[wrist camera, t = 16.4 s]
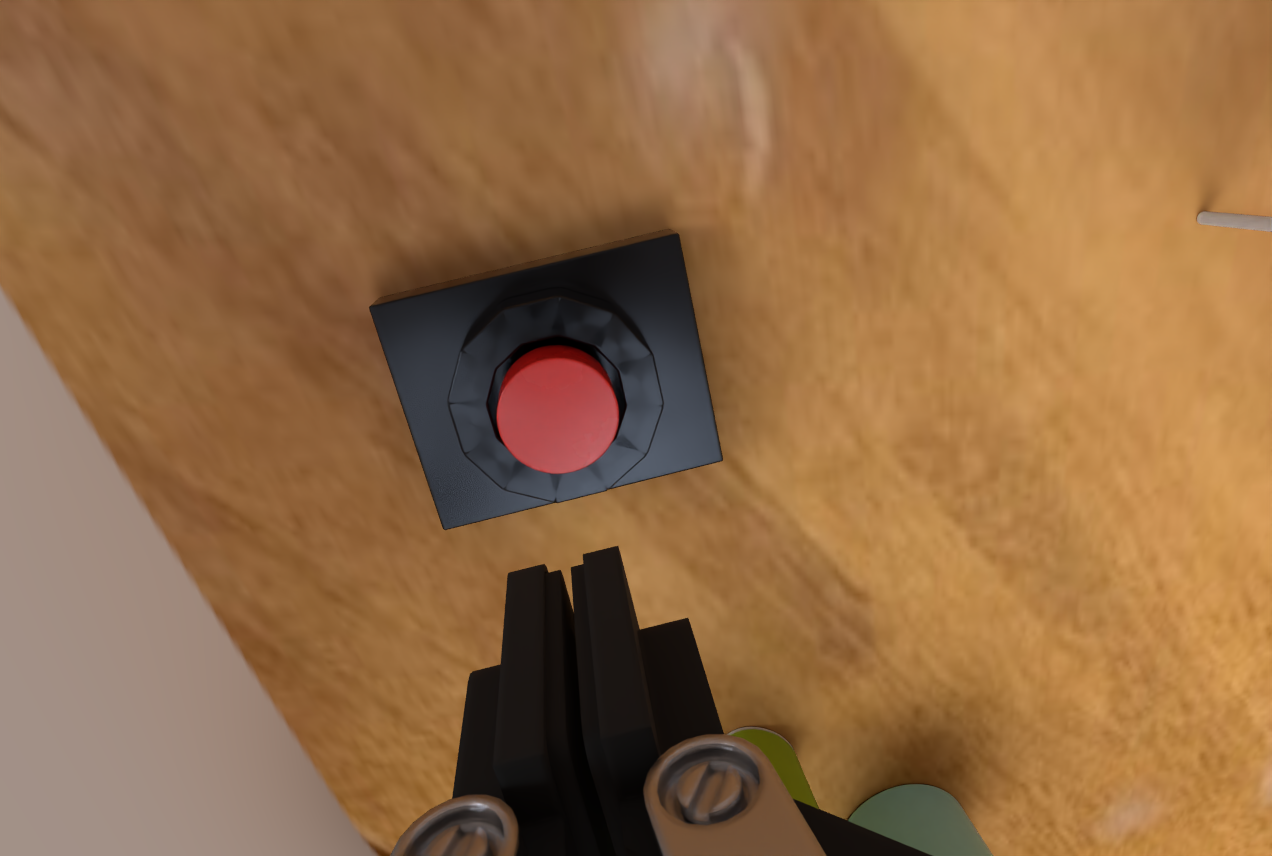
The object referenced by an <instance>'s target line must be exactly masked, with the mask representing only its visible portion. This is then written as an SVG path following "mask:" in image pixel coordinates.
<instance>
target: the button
mask: <svg viewBox="0 0 1272 856" xmlns="http://www.w3.org/2000/svg"><path fill="white" fill-rule="evenodd" d="M496 417H497V426H498V431H499V434H500V436H501V439H502V441H503V443H504V445H505V446H506V448H507V449H508V450H509V452H510V453H511V454H512V455H513V456H514V457H515V458H516V459H517V460H519V461H520V462H521V463H523V464H525V465H526V466H528V467H530V468H532V469H534V470H538V471H541V472H545V473H553V474H562V473H570V472H574V471H577V470H581V469H583V468H585V467H587V466H589V465H590V464H592V463H594V462H595V461H596V460H598V459H599V458H600V457H601V456H602V455H603V454H604V453H605V452H606V451H607V449H608V448H609V447H610V445H611V443H612V441H613V440H614V437H615V435H616V432H617V428H618V424H619V407H618V402H617V398H616V395H615V392H614V389H613V386H612V383H611V380H610V378H609V376H608V374H607V372H606V371H605V369H604V368H603V366H602V365H601V364H600V363H599V362H598V361H597V360H596V359H595V358H594V357H592V356H591V355H589V354H588V353H586V352H584V351H582V350H580V349H577V348H574V347H570V346H566V345H548V346H543V347H539V348H536V349H534V350H532V351H529V352H527V353H526V354H524V355H523V356H521V357H520V358H519V359H518V360H516V361H515V363H514V364H513V365H512V366H511V367H510V368H509V370H508V371H507V373H506V375H505V377H504V379H503V381H502V384H501V387H500V392H499V399H498V405H497V415H496Z"/></svg>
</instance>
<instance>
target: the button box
mask: <svg viewBox="0 0 1272 856" xmlns="http://www.w3.org/2000/svg"><path fill="white" fill-rule="evenodd" d="M369 309H370V312H371V315H372V318H373V321H374V324H375V327H376V330H377V333H378V336H379V339H380V342H381V345H382V348H383V351H384V354H385V357H386V360H387V363H388V366H389V369H390V372H391V375H392V378H393V381H394V384H395V387H396V390H397V393H398V396H399V399H400V402H401V405H402V408H403V411H404V414H405V417H406V420H407V423H408V426H409V429H410V432H411V435H412V438H413V441H414V444H415V447H416V450H417V453H418V456H419V459H420V462H421V465H422V468H423V471H424V474H425V477H426V480H427V483H428V486H429V488H430V491H431V494H432V497H433V500H434V503H435V506H436V509H437V512H438V515H439V518H440V521H441V524H442V527H443V529H444V530H447V529H451V528H455V527H460V526H464V525H468V524H472V523H476V522H480V521H484V520H488V519H492V518H496V517H500V516H504V515H508V514H512V513H516V512H520V511H524V510H528V509H532V508H536V507H540V506H544V505H548V504H552V503H560V502H564V501H568V500H572V499H576V498H580V497H584V496H588V495H592V494H596V493H600V492H604V491H607V490H608V489H612V488H616V487H620V486H624V485H628V484H632V483H636V482H640V481H644V480H648V479H652V478H656V477H660V476H664V475H668V474H672V473H676V472H680V471H684V470H688V469H692V468H696V467H700V466H704V465H708V464H712V463H716V462H720V461H723V456H722V451H721V446H720V441H719V436H718V431H717V426H716V421H715V415H714V410H713V405H712V400H711V395H710V390H709V385H708V380H707V375H706V369H705V364H704V359H703V354H702V349H701V344H700V339H699V334H698V329H697V323H696V318H695V313H694V308H693V303H692V298H691V293H690V288H689V283H688V278H687V272H686V267H685V262H684V257H683V252H682V247H681V242H680V237H679V234H678V233H677V232H675V231H673V230H671V229H666V230H662V231H658V232H653V233H649V234H645V235H641V236H636V237H632V238H628V239H624V240H620V241H615V242H611V243H607V244H603V245H599V246H594V247H590V248H586V249H582V250H577V251H573V252H569V253H565V254H561V255H556V256H552V257H548V258H544V259H540V260H535V261H531V262H527V263H523V264H519V265H514V266H510V267H506V268H502V269H497V270H493V271H489V272H485V273H481V274H476V275H472V276H468V277H464V278H460V279H455V280H451V281H447V282H443V283H438V284H434V285H430V286H426V287H422V288H417V289H413V290H409V291H405V292H401V293H396V294H392V295H388V296H384V297H380V298H378V299H377V300H376V301H375V302H374V303H373V304H372V305H371V306H370V307H369ZM548 345H566V346H570V347H574V348H577V349H580V350H582V351H584V352H586V353H588V354H589V355H591V356H592V357H594V358H595V359H596V360H597V361H598V362H599V363H600V364H601V365H602V366H603V368H604V369H605V371H606V372H607V374H608V376H609V378H610V380H611V383H612V386H613V389H614V392H615V395H616V398H617V402H618V407H619V424H618V428H617V432H616V435H615V437H614V440H613V441H612V443H611V445H610V447H609V448H608V449H607V451H606V452H605V453H604V454H603V455H602V456H601V457H600V458H599V459H598V460H596V461H595V462H594V463H592V464H590V465H589V466H587V467H585V468H583V469H581V470H577V471H574V472H570V473H562V474H553V473H545V472H541V471H538V470H534V469H532V468H530V467H528V466H526V465H525V464H523V463H521V462H520V461H519V460H517V459H516V458H515V457H514V456H513V455H512V454H511V453H510V452H509V450H508V449H507V448H506V446H505V445H504V443H503V441H502V439H501V436H500V434H499V431H498V426H497V417H496V415H497V405H498V399H499V392H500V387H501V384H502V381H503V379H504V377H505V375H506V373H507V371H508V370H509V368H510V367H511V366H512V365H513V364H514V363H515V361H516V360H518V359H519V358H520V357H521V356H523V355H524V354H526V353H527V352H529V351H532V350H534V349H536V348H539V347H543V346H548Z"/></svg>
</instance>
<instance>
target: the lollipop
mask: <svg viewBox="0 0 1272 856" xmlns="http://www.w3.org/2000/svg"><path fill="white" fill-rule="evenodd" d="M1197 222H1198V223H1199V224H1202V225H1212V226H1222V227H1231V228H1241V229H1250V230H1260V231H1270V232H1272V217H1266V216H1254V215H1243V214H1231V213H1219V212H1207V211H1203V212H1201V213H1200V214H1199V215H1198V217H1197Z"/></svg>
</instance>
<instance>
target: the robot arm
mask: <svg viewBox="0 0 1272 856" xmlns="http://www.w3.org/2000/svg"><path fill="white" fill-rule="evenodd" d="M583 563H584V564H582V565H578V566H574V567H571V576H572V591H573V606H574V612H573V609H572V605H571V602H570V598H569V595H568V591H567V588H566V585H565V581H564V578H563V575H562V572H561V570H558V571H554V572H550V573H548V570H547V567H546V565H545V564H542V565H538V566H534V567H530V568H526V569H522V570H518V571H514V572H510V573H508V578H507V591H506V604H505V616H504V629H503V642H502V655H501V665H497V666H493V667H489V668H485V669H481V670H477V671H473V672H472V673H471V674H470V676H469V680H468V686H467V694H466V701H465V708H464V716H463V723H462V731H461V738H460V745H459V753H458V760H457V767H456V775H455V782H454V789H453V797H452V799H450V800H448V801H446V802H444V803H442V804H440V805H438V806H436V807H434V808H432V809H430V810H429V811H427V812H426V813H425V814H423V815H422V816H421V817H419V818H418V819H417V820H416V821H414V822H413V823H412V824H411V825H410V827H409V828H408V829H407V830H406V831H405V832H404V833H403V835H402V836H401V837H400V838H399V840H398V842H397V844H396V846H395V847H394V849H393V851H392V853H391V855H390V856H932V855H930V854H927V853H925V852H922V851H920V850H918V849H915V848H913V847H910V846H908V845H905V844H903V843H900V842H898V841H896V840H893V839H891V838H888V837H886V836H883V835H881V834H878V833H876V832H874V831H871V830H869V829H866V828H864V827H861V826H859V825H856V824H854V823H852V822H849V821H847V820H844V819H842V818H839V817H837V816H834V815H832V814H830V813H827V812H825V811H822V810H820V809H817V808H815V807H812V806H810V805H808V804H805V803H803V802H800V801H798V800H795V799H793V798H792V797H791V795H790V794H789V792H788V790H787V789H786V787H785V785H784V784H783V782H782V780H781V779H780V777H779V775H778V774H777V772H776V770H775V769H774V767H773V765H772V764H771V762H770V760H769V759H768V758H767V756H766V755H765V754H764V753H763V752H762V751H761V750H760V749H759V747H758V746H756V745H754V744H752V743H751V742H749V741H747V740H745V739H743V738H740V737H736V736H731V735H727V734H724V733H723V730H722V726H721V723H720V720H719V717H718V713H717V710H716V707H715V703H714V700H713V697H712V694H711V690H710V687H709V684H708V680H707V677H706V674H705V671H704V667H703V664H702V661H701V657H700V654H699V651H698V648H697V644H696V641H695V638H694V635H693V631H692V628H691V625H690V622H689V619H688V618H685V619H681V620H677V621H673V622H669V623H665V624H661V625H657V626H653V627H649V628H645V629H641V630H640V629H639V625H638V621H637V617H636V613H635V609H634V605H633V601H632V598H631V594H630V590H629V586H628V582H627V578H626V574H625V570H624V566H623V562H622V558H621V554H620V551H619V547H618V546H615V547H611V548H607V549H603V550H599V551H595V552H591V553H587V554H583Z"/></svg>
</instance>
